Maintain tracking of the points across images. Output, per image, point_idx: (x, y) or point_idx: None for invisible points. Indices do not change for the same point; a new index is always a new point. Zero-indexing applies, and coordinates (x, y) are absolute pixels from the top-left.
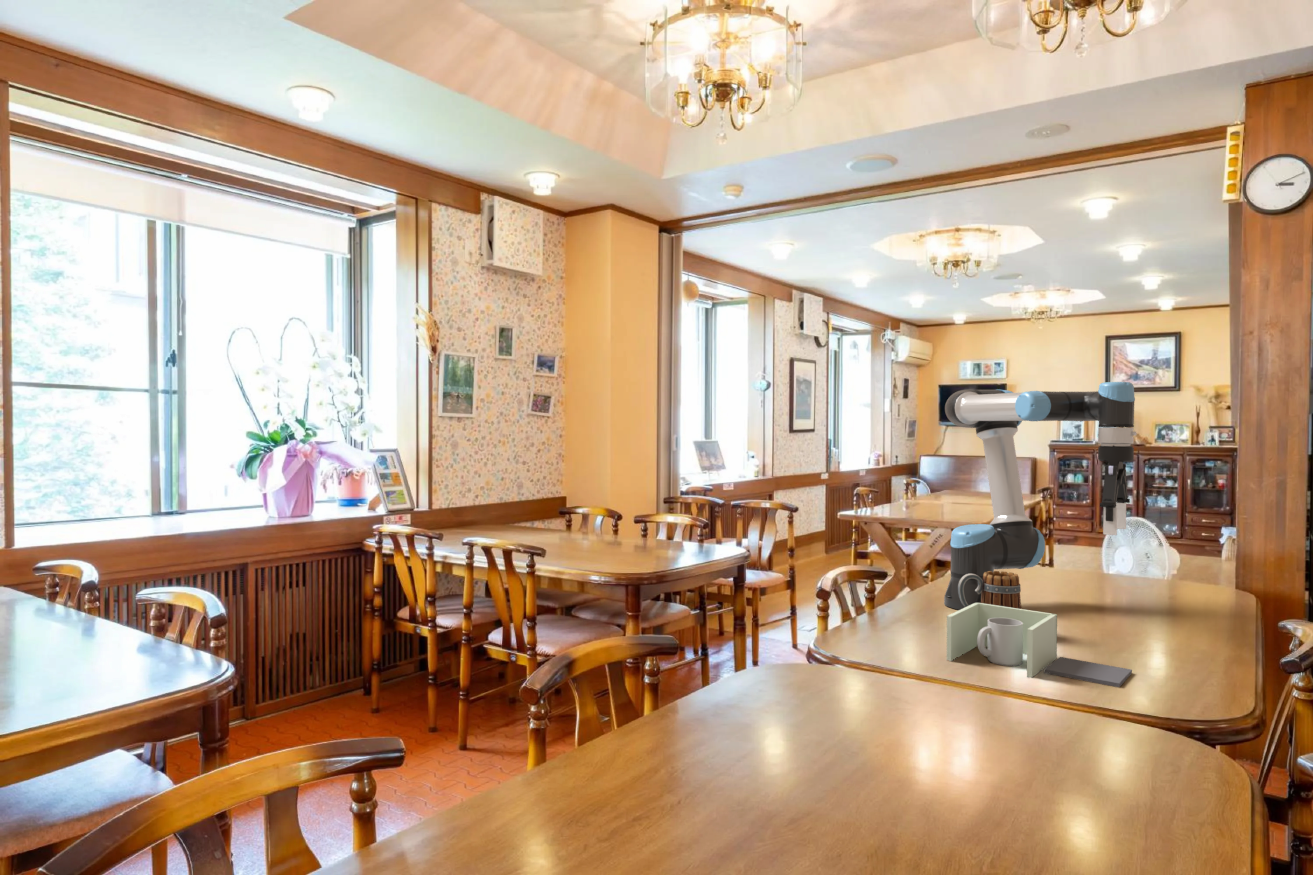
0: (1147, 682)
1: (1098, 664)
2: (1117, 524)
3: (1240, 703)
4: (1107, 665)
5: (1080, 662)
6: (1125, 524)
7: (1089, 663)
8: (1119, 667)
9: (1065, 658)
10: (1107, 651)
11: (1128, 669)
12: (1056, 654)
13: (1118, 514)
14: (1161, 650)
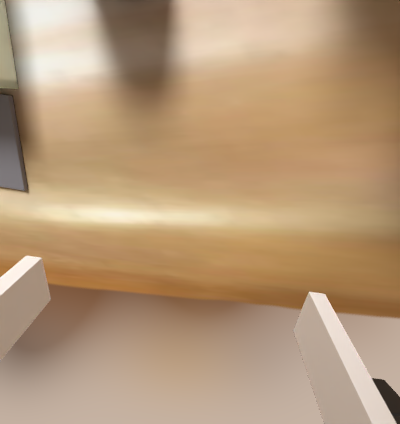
0: (4, 204)
1: (13, 151)
2: (311, 324)
3: None
4: (18, 162)
5: (2, 127)
6: (301, 351)
7: (7, 140)
8: (21, 177)
9: (4, 104)
10: (117, 158)
11: (21, 186)
12: (12, 88)
13: (334, 388)
14: (171, 221)
